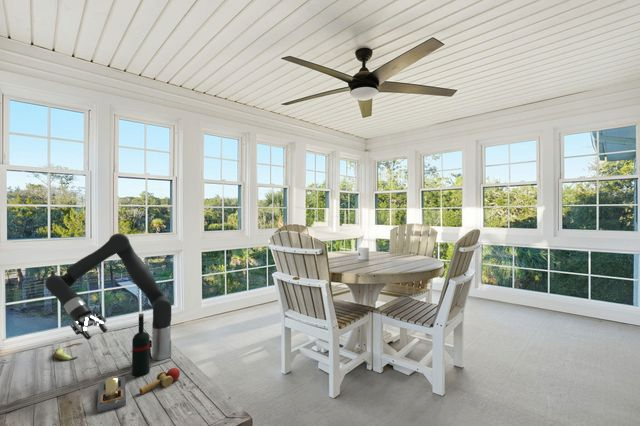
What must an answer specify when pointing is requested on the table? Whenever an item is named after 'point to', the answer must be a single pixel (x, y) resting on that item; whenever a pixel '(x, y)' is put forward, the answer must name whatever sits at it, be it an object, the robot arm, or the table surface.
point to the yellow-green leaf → (64, 356)
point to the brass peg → (111, 388)
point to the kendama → (162, 379)
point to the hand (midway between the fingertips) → (98, 334)
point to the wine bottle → (141, 351)
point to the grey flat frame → (114, 402)
